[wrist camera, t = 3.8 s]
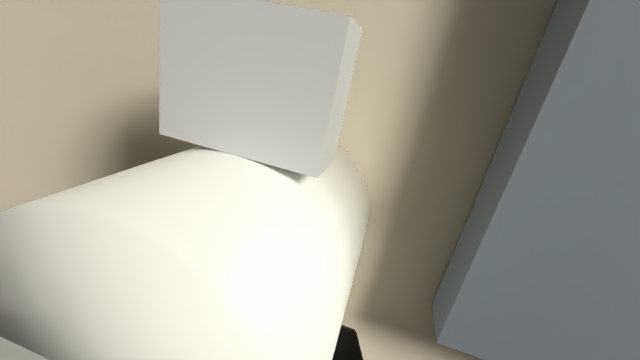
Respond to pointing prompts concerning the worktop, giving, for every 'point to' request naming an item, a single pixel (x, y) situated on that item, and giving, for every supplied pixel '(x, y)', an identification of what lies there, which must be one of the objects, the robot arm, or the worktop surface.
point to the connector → (206, 207)
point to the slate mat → (558, 205)
